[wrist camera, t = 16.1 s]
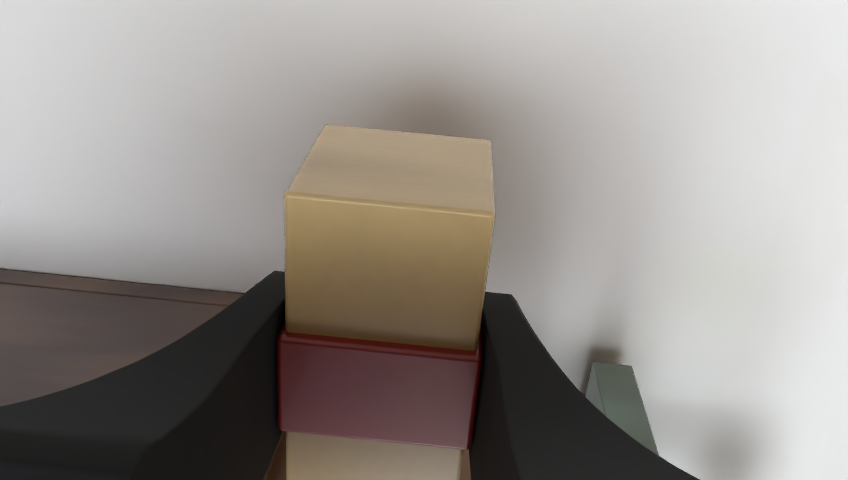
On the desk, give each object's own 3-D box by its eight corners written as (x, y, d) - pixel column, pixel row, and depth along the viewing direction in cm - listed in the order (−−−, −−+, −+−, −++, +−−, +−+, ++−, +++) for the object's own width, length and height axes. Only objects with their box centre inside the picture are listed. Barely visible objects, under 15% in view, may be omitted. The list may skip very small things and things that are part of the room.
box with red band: (459, 425, 17) (456, 552, 14) (314, 410, 17) (278, 534, 14) (496, 139, 14) (502, 220, 11) (319, 122, 14) (273, 197, 11)
